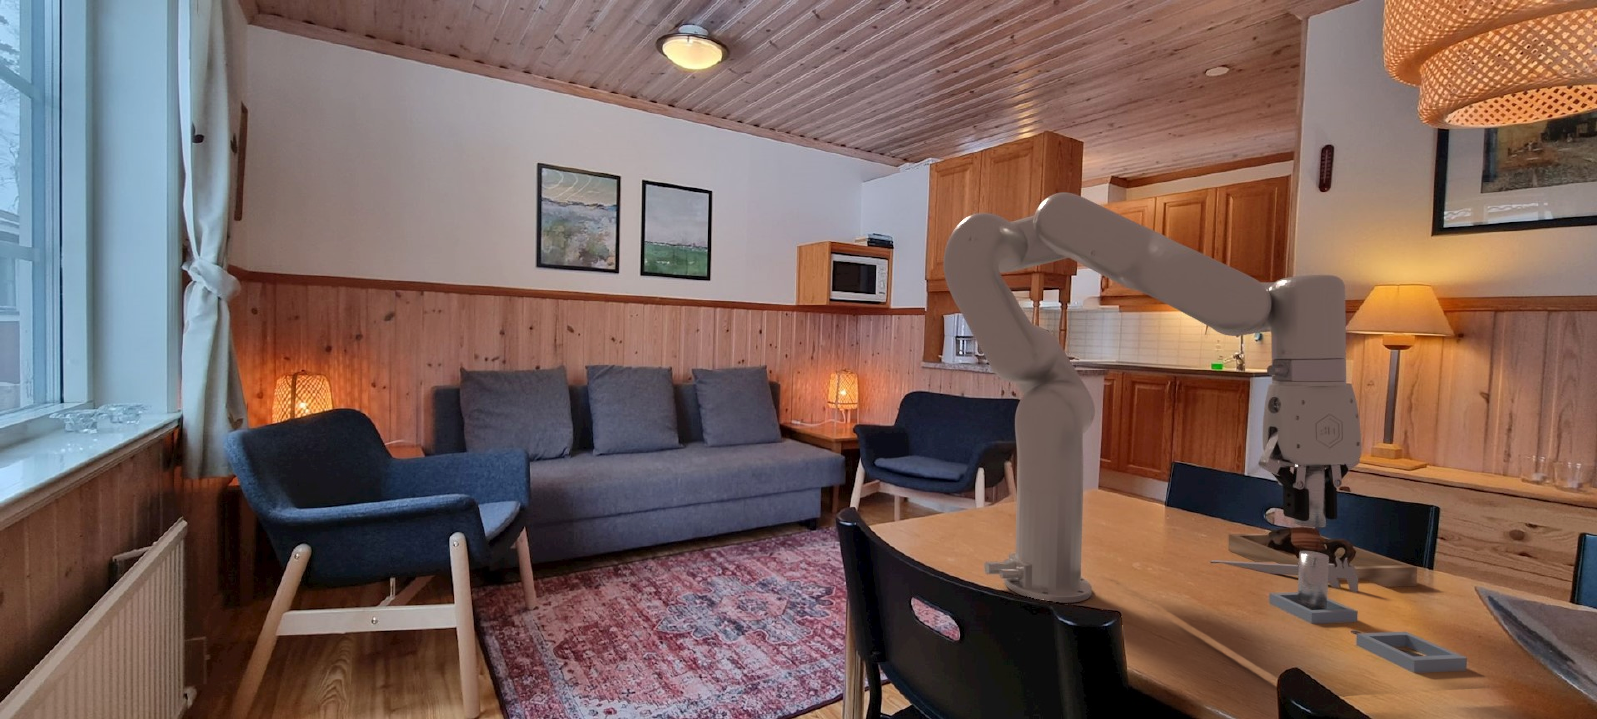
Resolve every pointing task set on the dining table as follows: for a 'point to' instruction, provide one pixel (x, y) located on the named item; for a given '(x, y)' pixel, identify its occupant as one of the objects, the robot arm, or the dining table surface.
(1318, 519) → the steel pin
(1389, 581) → the brown elongated piece
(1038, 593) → the robot arm
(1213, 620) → the dining table surface
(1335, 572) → the caliper
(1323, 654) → the dining table surface
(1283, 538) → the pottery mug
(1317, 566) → the seated pin
